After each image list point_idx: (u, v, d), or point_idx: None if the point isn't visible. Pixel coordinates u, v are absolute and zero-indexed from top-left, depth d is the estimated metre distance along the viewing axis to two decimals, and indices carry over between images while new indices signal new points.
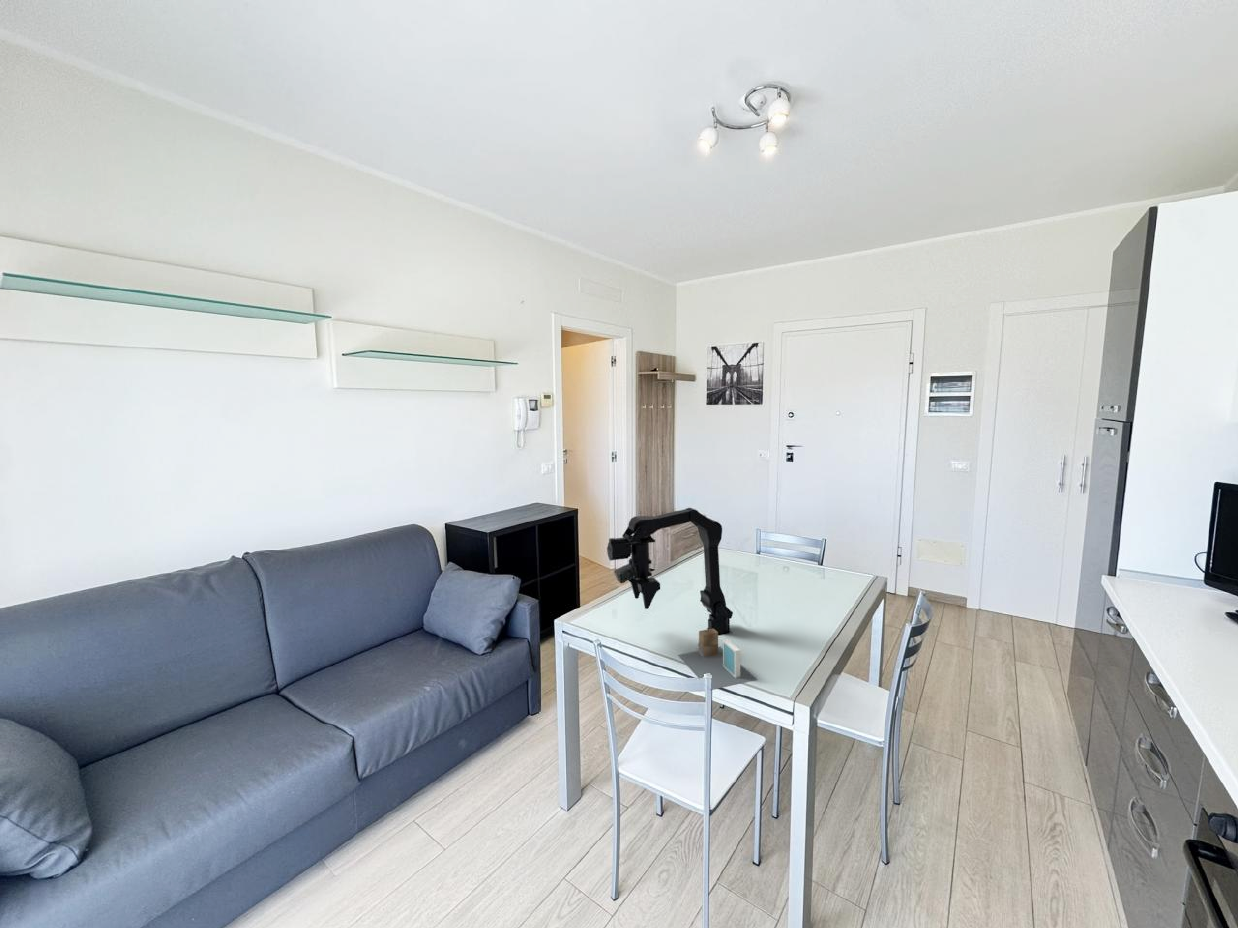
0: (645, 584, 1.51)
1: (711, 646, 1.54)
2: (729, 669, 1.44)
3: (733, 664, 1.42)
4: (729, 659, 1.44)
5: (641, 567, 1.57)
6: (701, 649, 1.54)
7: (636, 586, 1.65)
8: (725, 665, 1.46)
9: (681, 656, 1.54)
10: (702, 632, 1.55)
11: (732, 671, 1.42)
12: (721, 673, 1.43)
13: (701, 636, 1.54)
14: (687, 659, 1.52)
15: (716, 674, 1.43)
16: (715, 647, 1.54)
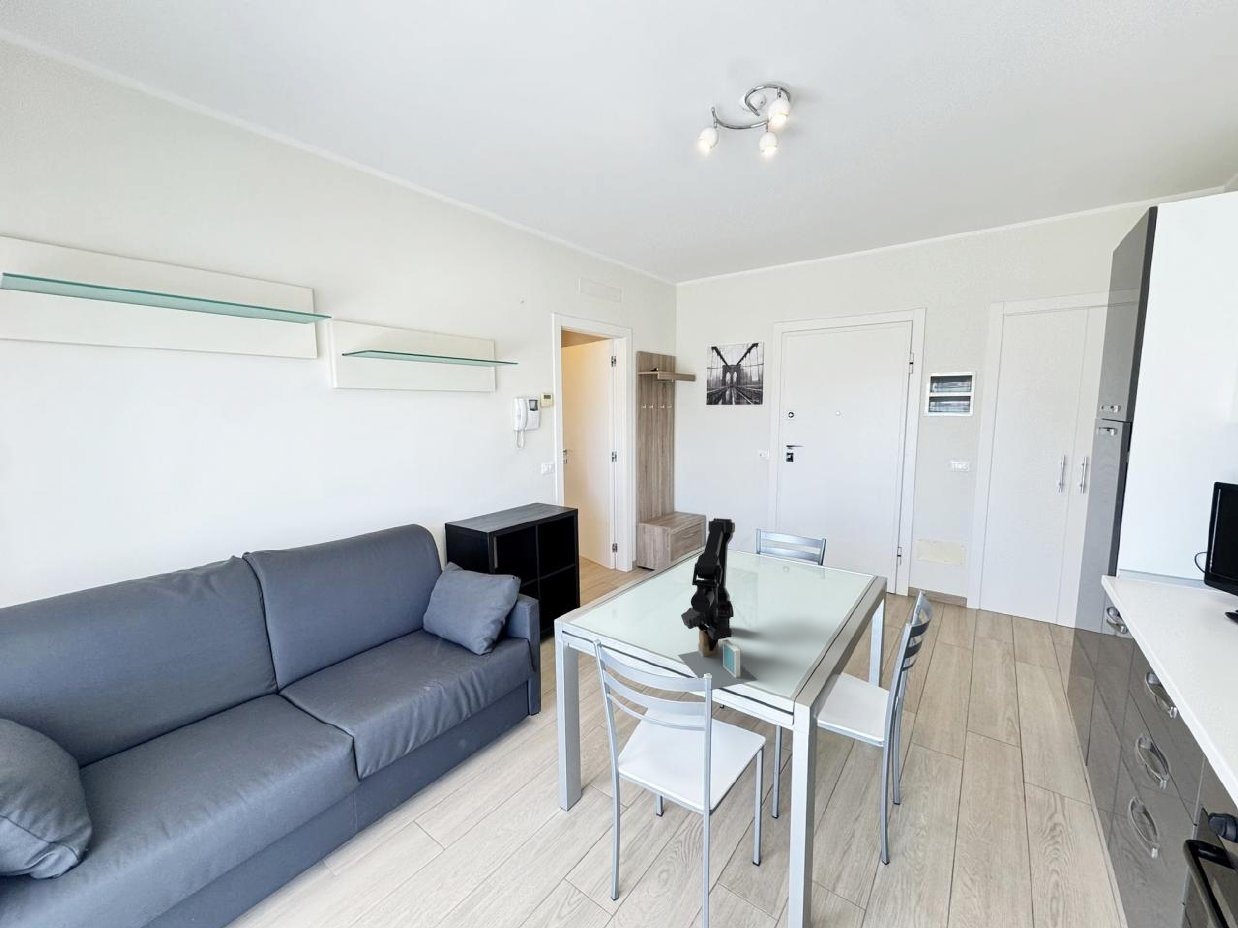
0: (717, 631, 1.45)
1: None
2: (729, 669, 1.44)
3: (733, 664, 1.42)
4: (729, 659, 1.44)
5: (710, 612, 1.51)
6: (701, 649, 1.54)
7: None
8: (725, 665, 1.46)
9: (681, 656, 1.54)
10: (702, 632, 1.55)
11: (732, 671, 1.42)
12: (721, 673, 1.43)
13: (701, 636, 1.54)
14: (687, 659, 1.52)
15: (716, 674, 1.43)
16: (715, 647, 1.54)
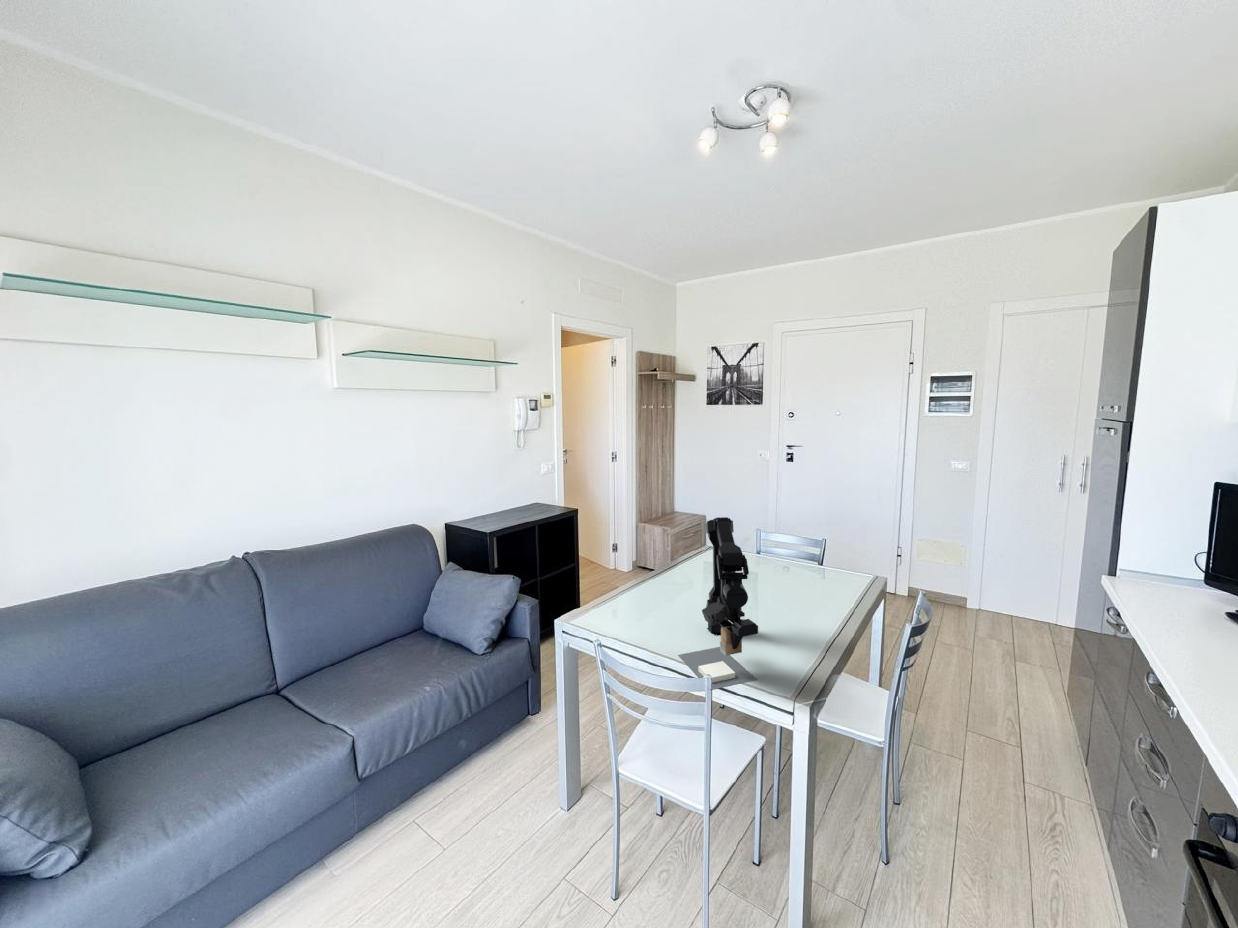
0: (743, 628, 1.33)
1: None
2: None
3: None
4: None
5: (734, 607, 1.40)
6: (723, 647, 1.42)
7: None
8: None
9: (681, 656, 1.54)
10: (724, 629, 1.43)
11: None
12: None
13: (724, 633, 1.42)
14: (687, 659, 1.52)
15: None
16: (738, 645, 1.43)
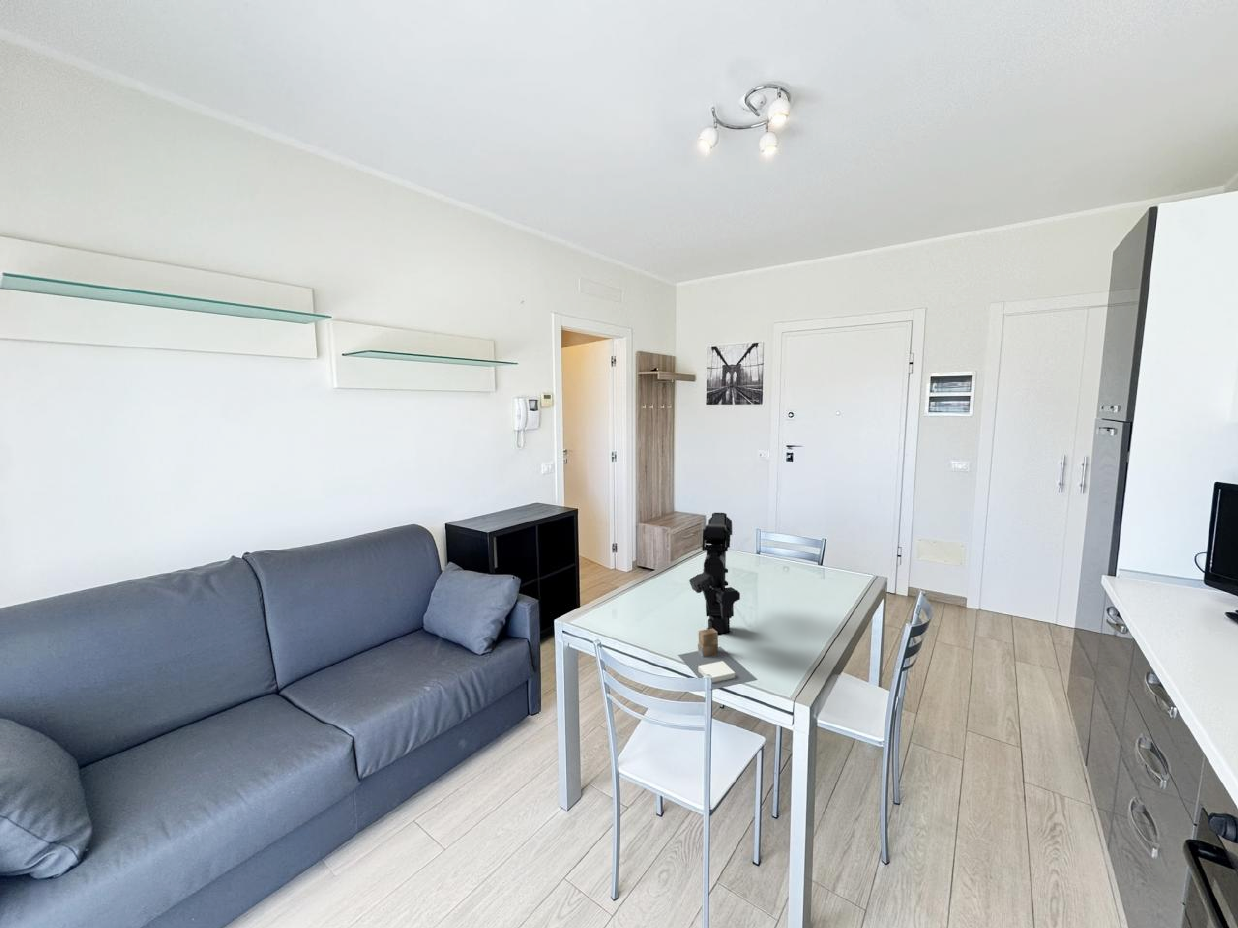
0: (725, 594, 1.47)
1: (711, 646, 1.54)
2: None
3: None
4: None
5: (718, 576, 1.53)
6: (701, 649, 1.54)
7: (709, 595, 1.62)
8: None
9: (681, 656, 1.54)
10: (702, 632, 1.55)
11: None
12: None
13: (701, 636, 1.54)
14: (687, 659, 1.52)
15: None
16: (715, 647, 1.55)
